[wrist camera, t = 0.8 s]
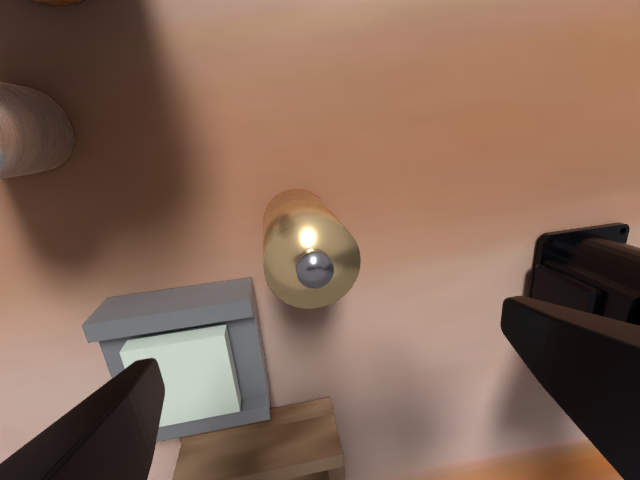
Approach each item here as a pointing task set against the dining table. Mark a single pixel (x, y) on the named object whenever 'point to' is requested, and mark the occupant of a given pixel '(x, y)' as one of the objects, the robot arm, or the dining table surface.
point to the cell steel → (31, 132)
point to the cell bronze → (307, 251)
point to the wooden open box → (268, 448)
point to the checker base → (189, 314)
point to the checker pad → (191, 372)
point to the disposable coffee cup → (58, 2)
